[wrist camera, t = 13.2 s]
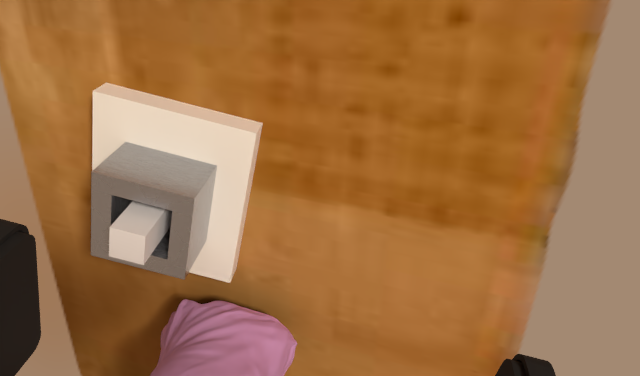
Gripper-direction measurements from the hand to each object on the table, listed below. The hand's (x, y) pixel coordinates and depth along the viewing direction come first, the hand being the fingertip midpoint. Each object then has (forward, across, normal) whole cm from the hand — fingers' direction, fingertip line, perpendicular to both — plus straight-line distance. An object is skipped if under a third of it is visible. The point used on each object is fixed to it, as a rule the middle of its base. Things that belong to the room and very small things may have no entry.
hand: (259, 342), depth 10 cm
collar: (+26, +11, +15) cm, 32 cm away
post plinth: (+28, +11, +15) cm, 34 cm away
